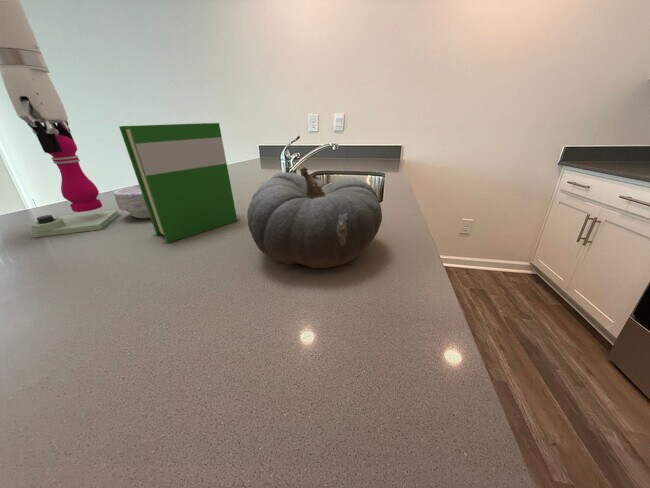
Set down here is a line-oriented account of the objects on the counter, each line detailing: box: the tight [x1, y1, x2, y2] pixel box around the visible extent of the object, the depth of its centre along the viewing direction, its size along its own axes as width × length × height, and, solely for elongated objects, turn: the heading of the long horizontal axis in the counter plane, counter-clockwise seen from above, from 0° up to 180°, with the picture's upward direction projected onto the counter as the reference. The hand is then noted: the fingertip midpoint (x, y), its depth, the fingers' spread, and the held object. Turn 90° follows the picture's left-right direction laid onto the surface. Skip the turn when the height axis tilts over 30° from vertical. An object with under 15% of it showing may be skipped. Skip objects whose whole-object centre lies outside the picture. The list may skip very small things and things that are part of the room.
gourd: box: [246, 166, 383, 269], centre depth 50 cm, size 25×25×17 cm
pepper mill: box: [48, 127, 103, 213], centre depth 65 cm, size 7×7×20 cm
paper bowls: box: [113, 184, 151, 219], centre depth 75 cm, size 15×15×8 cm
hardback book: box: [118, 122, 238, 244], centre depth 61 cm, size 18×7×24 cm, turn 139°
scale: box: [30, 209, 120, 238], centre depth 69 cm, size 14×12×3 cm
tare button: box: [36, 214, 55, 224], centre depth 64 cm, size 3×3×2 cm
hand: (61, 150), depth 63 cm, fingers closed on pepper mill, 6 cm apart
